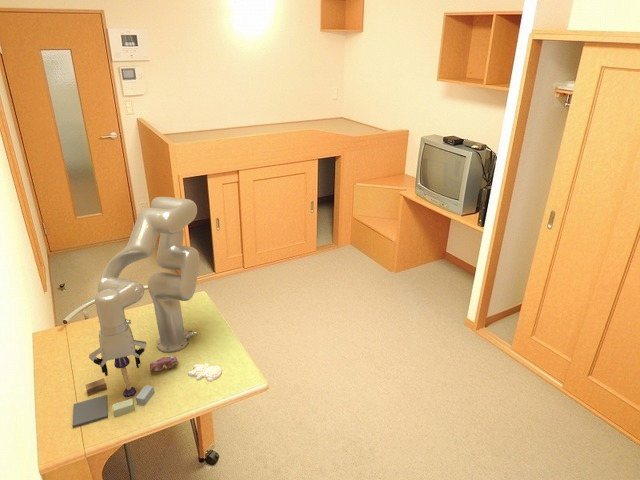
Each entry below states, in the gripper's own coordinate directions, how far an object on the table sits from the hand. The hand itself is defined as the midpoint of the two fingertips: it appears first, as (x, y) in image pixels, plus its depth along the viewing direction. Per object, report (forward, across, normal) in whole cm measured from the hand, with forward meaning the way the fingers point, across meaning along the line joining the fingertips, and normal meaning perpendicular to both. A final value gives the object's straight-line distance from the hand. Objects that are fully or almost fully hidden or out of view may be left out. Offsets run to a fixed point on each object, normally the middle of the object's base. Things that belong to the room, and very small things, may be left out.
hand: (122, 369), depth 148 cm
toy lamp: (+11, -1, -1) cm, 11 cm away
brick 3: (+11, -6, +4) cm, 13 cm away
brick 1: (+11, +9, -7) cm, 16 cm away
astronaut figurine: (+11, -27, 0) cm, 29 cm away
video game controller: (+11, -14, -9) cm, 19 cm away
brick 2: (+11, +1, +7) cm, 13 cm away
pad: (+11, +11, +3) cm, 16 cm away
